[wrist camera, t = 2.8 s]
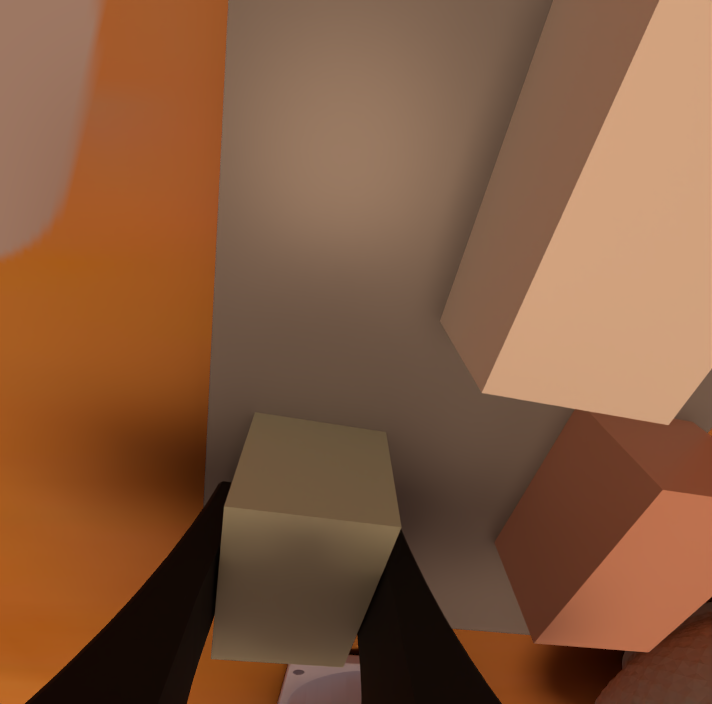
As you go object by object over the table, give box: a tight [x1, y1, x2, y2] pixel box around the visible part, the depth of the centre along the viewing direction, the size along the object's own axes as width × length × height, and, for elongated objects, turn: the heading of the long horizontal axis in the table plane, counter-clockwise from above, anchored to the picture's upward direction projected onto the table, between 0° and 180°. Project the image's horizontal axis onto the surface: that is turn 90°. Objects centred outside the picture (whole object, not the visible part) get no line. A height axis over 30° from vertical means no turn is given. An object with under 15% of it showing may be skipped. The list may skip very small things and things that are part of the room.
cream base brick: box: [440, 0, 712, 425], centre depth 6 cm, size 6×4×3 cm, turn 167°
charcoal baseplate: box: [203, 0, 712, 635], centre depth 11 cm, size 20×14×1 cm
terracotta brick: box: [494, 409, 712, 652], centre depth 10 cm, size 6×4×3 cm, turn 167°
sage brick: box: [211, 412, 401, 667], centre depth 10 cm, size 6×4×3 cm, turn 167°
